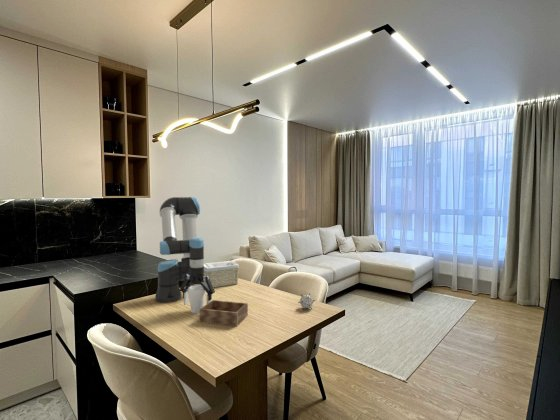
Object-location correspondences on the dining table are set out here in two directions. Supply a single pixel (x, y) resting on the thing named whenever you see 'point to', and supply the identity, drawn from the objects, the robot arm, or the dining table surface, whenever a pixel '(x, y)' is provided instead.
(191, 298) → the foam cup
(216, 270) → the storage basket
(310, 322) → the dining table surface
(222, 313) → the brown wooden tray
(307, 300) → the grey spiked ball
